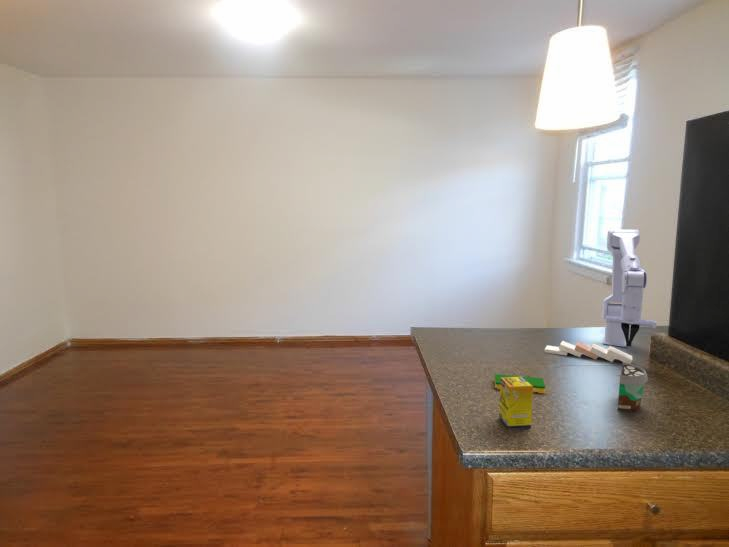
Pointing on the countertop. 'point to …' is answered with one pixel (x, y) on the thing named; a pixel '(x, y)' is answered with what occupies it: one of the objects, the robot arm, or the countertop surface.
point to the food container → (631, 387)
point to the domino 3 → (585, 350)
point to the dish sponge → (535, 382)
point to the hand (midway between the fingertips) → (628, 345)
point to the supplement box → (515, 402)
